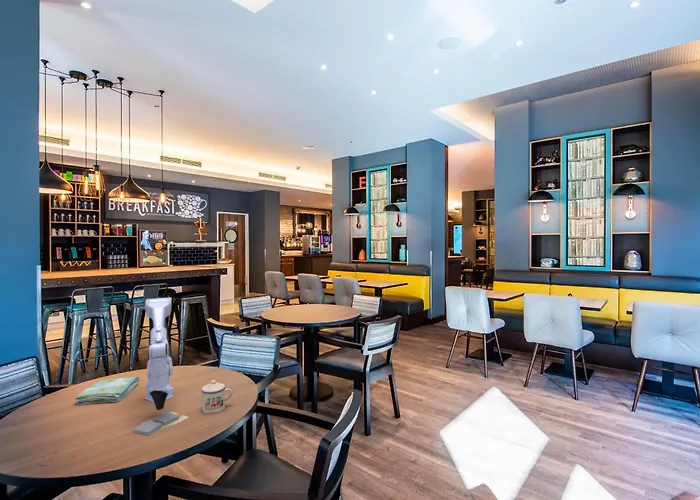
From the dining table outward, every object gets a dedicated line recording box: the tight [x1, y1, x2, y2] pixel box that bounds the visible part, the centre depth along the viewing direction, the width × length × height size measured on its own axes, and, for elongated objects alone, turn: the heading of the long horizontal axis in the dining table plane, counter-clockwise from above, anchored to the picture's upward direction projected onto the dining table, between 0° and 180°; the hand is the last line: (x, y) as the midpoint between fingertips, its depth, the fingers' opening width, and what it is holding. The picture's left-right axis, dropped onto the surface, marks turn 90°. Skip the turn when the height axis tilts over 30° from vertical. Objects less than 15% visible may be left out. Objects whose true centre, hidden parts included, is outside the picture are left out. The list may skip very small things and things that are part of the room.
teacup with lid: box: [200, 379, 234, 414], centre depth 151 cm, size 12×9×12 cm
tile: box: [152, 411, 179, 426], centre depth 141 cm, size 1×6×7 cm
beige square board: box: [140, 410, 190, 432], centre depth 141 cm, size 12×12×1 cm
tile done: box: [132, 420, 162, 437], centre depth 134 cm, size 7×6×1 cm
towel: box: [74, 375, 140, 406], centre depth 167 cm, size 18×21×5 cm
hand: (160, 408), depth 143 cm, fingers closed
